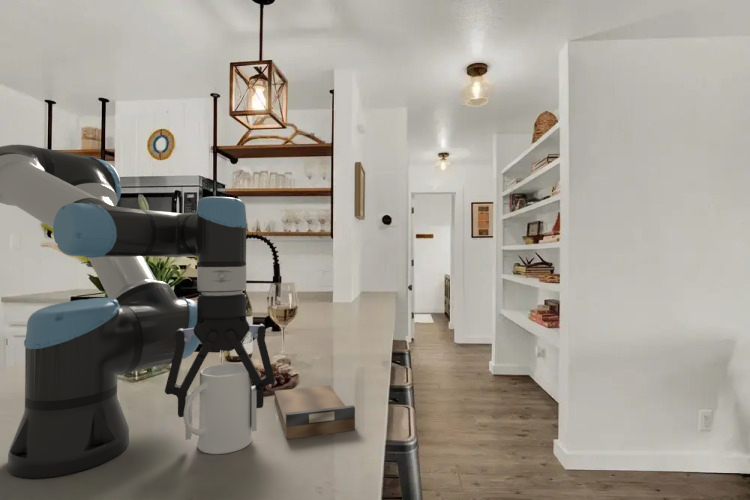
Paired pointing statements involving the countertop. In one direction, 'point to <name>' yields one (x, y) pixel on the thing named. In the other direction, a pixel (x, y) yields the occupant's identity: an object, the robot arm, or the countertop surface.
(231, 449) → the mug
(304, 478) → the countertop surface
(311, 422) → the flat wooden box
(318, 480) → the countertop surface
